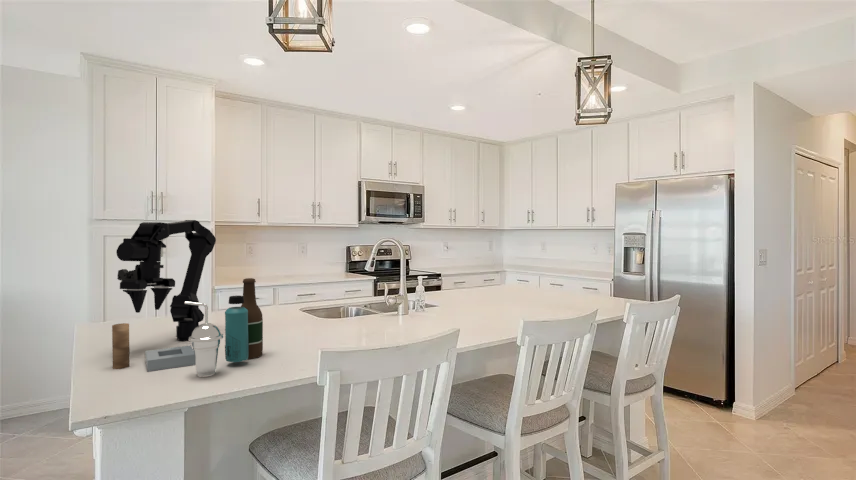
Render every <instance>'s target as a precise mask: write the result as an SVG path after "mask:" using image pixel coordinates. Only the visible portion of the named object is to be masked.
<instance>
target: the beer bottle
mask: <svg viewBox="0 0 856 480" xmlns="http://www.w3.org/2000/svg"><path fill="white" fill-rule="evenodd" d="M256 283H257V282H256V279H255V278H253V277H250V278H249V277H248V278H244V279H243V280H242V284H243V285H242V288H243V289H242V296H243V297H244V303H242V304H240V307H245V308H246V309H247V310H248V335H249V337H248V343H249V345H248V346H249V347H248V349H249V357H248V359H247V360H252V359H257V358H259V357H261V356H262V355H263V352H264V351H263V348H264V346H263V345H264V343H263V342H264V341H263V340H264V337H263V335H264V333H263V331H264V326H263V325H264V324H263V322H264V320H263V319H264V318H263V313H262V310H261V308H260V307H259V306H258V304H257V297H256V285H255V284H256Z"/></svg>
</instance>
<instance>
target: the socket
mask: <svg viewBox="0 0 856 480" xmlns="http://www.w3.org/2000/svg"><path fill="white" fill-rule="evenodd" d="M144 353H145V356H144V358H145V361H144V362H145V367H146V371H147V372H148V373H149V372H153V371H154V372H155V371H160V370H169V369H174V368H175V369H176V368H181V367H188V366H196V364H195V356H194V350H193V347H192V344H191V345H183V346H182V345H181V346H175V347H174V346H173V347H166V348H157V349H149V350H145V351H144Z"/></svg>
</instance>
